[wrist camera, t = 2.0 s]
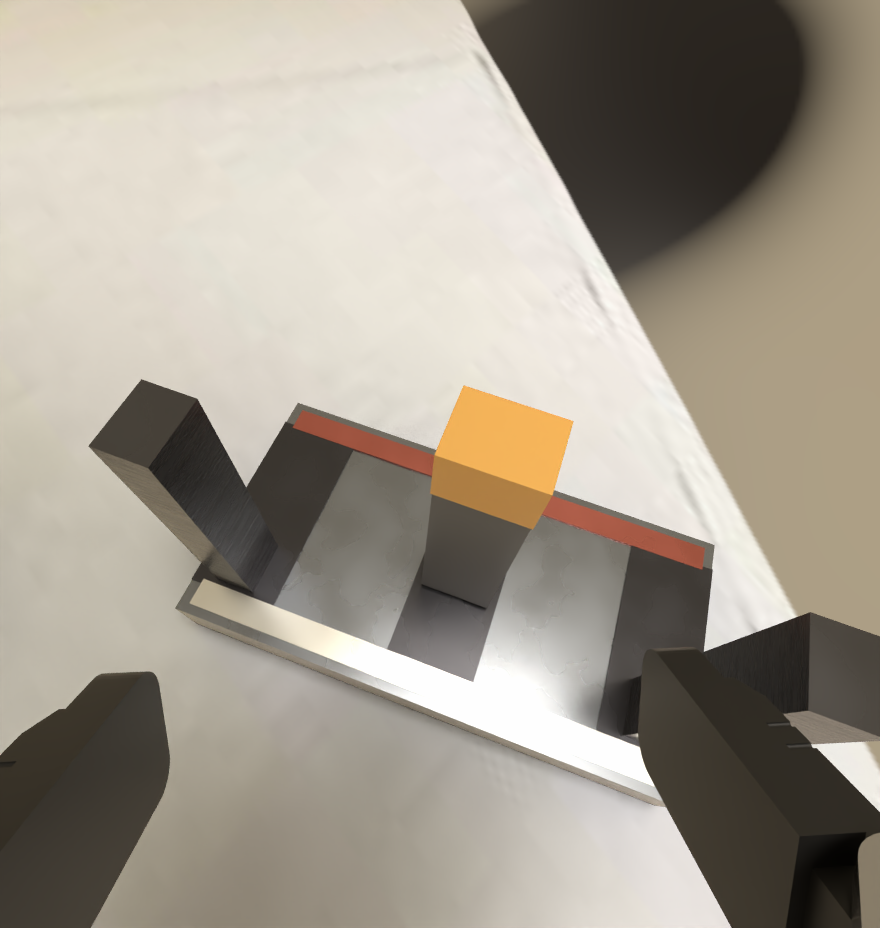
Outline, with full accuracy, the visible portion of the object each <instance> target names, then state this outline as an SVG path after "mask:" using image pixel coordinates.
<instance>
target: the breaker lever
mask: <svg viewBox="0 0 880 928" xmlns="http://www.w3.org/2000/svg"><path fill="white" fill-rule="evenodd" d="M572 425H573V421H571V420H568V419H565V418H562V417H559V416H556V415H553V414H550V413H547V412H544V411H541V410H537V409H534V408H531V407H528V406H525V405H522V404H519V403H516V402H513V401H510V400H507V399H504V398H501V397H498V396H495V395H491V394H488V393H485V392H482V391H479V390H476V389H473V388H470V387H467V386H463V388H462V390H461V393H460V395H459V398H458V400H457V402H456V405H455V407H454V409H453V412H452V414H451V417H450V419H449V421H448V424H447V426H446V429H445V431H444V433H443V436H442V438H441V440H440V443H439V445H438V448H437V450H436V452H435V455H434V463H433V472H432V480H431V489H430V494H432V498H431V506H430V514H429V523H428V531H427V539H426V548H425V556H424V564H423V573H422V581H421V584H423V585H425V586H428V587H431V588H433V589H436V590H439V591H442V592H444V593H447V594H450V595H452V596H455V597H458V598H460V599H463V600H466V601H469V602H471V603H474V604H477V605H479V606H482V607H485V608H487V607H488V606H489V604H490V602H491V600H492V598H493V597H494V595H495V593H496V591H497V589H498V588H499V586H500V584H501V582H502V580H503V579H504V577H505V575H506V573H507V571H508V570H509V568H510V566H511V564H512V562H513V561H514V559H515V557H516V555H517V554H518V552H519V550H520V548H521V546H522V545H523V543H524V541H525V539H526V537H527V536H528V534H529V532H530V530H531V529H532V530H533V529H534V527H535V525H536V524H537V522H538V520H539V518H540V517H541V515H542V513H543V511H544V510H545V508H546V506H547V504H548V502H549V501H550V499H551V497H552V495H553V492H554V488H555V485H556V481H557V478H558V474H559V471H560V467H561V464H562V460H563V456H564V453H565V449H566V446H567V442H568V439H569V435H570V432H571V428H572Z"/></svg>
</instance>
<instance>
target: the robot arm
mask: <svg viewBox="0 0 880 928" xmlns="http://www.w3.org/2000/svg"><path fill="white" fill-rule="evenodd" d="M638 738H639V746H640V751H641V755H642V759H643V762H644V765H645V768H646V770H647V772H648V774H649V776H650V778H651V780H652V782H653V784H654V785H655V787H656V789H657V791H658V793H659V795H660V797H661V798H662V800H663V802H664V804H665V806H666V808H667V809H668V811H669V813H670V815H671V817H672V819H673V820H674V822H675V824H676V826H677V828H678V830H679V832H680V833H681V835H682V837H683V839H684V841H685V843H686V844H687V846H688V848H689V850H690V852H691V854H692V856H693V857H694V859H695V861H696V863H697V865H698V867H699V868H700V870H701V872H702V874H703V876H704V878H705V879H706V881H707V883H708V885H709V887H710V889H711V891H712V892H713V894H714V896H715V898H716V900H717V902H718V903H719V905H720V907H721V909H722V911H723V913H724V915H725V916H726V918H727V920H728V922H729V924H730V926H731V927H732V928H880V812H879V811H878V810H877V809H876V808H875V807H874V806H873V805H872V804H871V803H870V802H869V801H868V800H867V799H866V798H865V797H864V796H863V795H862V794H861V793H860V792H859V791H858V790H857V789H856V788H855V787H854V786H853V785H852V784H851V783H850V782H849V781H848V780H847V778H846V777H845V776H844V775H843V774H842V773H841V772H840V771H839V770H838V769H837V768H836V767H835V766H834V765H833V764H832V763H831V762H830V761H829V760H828V759H827V758H826V757H825V756H824V755H823V754H822V753H821V752H820V751H819V750H818V749H817V748H812V746H811V742H810V741H809V740H808V739H807V738H806V737H805V736H804V735H803V734H802V733H801V732H800V731H799V730H798V729H797V728H796V727H795V726H794V727H792V726H791V724H790V721H789V720H788V719H787V718H786V717H785V716H784V715H783V714H782V713H781V712H780V711H779V710H778V709H777V708H776V707H775V706H774V705H773V704H772V703H771V701H770V700H769V699H768V698H767V697H765V696H764V695H762V694H760V693H759V692H757V691H755V690H754V689H752V688H750V687H749V686H747V685H745V684H744V683H742V682H741V681H739V680H737V679H736V678H734V677H725V678H724V677H723V676H722V675H721V673H720V672H719V671H718V670H717V669H716V668H715V667H714V666H713V665H712V664H711V663H710V661H709V660H708V659H707V658H706V657H705V656H704V655H703V654H702V653H701V652H700V651H699V650H698V649H696V648H694V647H682V648H661V649H648V650H647V651H646V652H645V655H644V658H643V665H642V679H641V694H640V709H639V723H638ZM169 765H170V755H169V747H168V740H167V734H166V727H165V721H164V714H163V708H162V701H161V695H160V688H159V683H158V680H157V677H156V676H155V674H154V673H152V672H128V673H107V674H100V675H98V676H96V677H95V678H94V679H93V680H92V681H91V682H90V683H89V684H88V685H87V687H86V688H85V689H84V690H83V691H82V692H81V693H80V694H79V695H78V696H77V697H76V698H75V699H74V700H73V702H72V703H71V704H70V705H69V706H68V707H67V708H66V709H59V710H57V711H56V712H54V713H53V714H51V715H49V716H48V717H46V718H45V719H43V720H42V721H40V722H39V723H37V724H36V725H34V726H33V727H31V728H30V729H28V730H27V731H25V732H23V733H22V734H21V735H20V736H19V737H18V738H17V739H16V740H15V741H14V742H13V743H12V744H11V745H10V746H9V747H8V748H7V749H6V750H5V751H4V752H3V753H2V754H1V755H0V928H91V926H92V924H93V923H94V921H95V919H96V917H97V915H98V913H99V912H100V910H101V908H102V906H103V904H104V902H105V901H106V899H107V897H108V895H109V893H110V891H111V890H112V888H113V886H114V884H115V882H116V880H117V879H118V877H119V875H120V873H121V871H122V869H123V868H124V866H125V864H126V862H127V860H128V858H129V857H130V855H131V853H132V851H133V849H134V847H135V846H136V844H137V842H138V840H139V838H140V836H141V835H142V833H143V831H144V829H145V827H146V825H147V824H148V822H149V820H150V818H151V816H152V814H153V812H154V811H155V809H156V807H157V805H158V803H159V801H160V799H161V797H162V795H163V793H164V790H165V787H166V783H167V779H168V774H169Z"/></svg>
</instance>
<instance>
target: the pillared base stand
mask: <svg viewBox="0 0 880 928" xmlns="http://www.w3.org/2000/svg"><path fill="white" fill-rule="evenodd" d="M89 447H90V448H91V449H92V451H93V452H94V453H95V454H96V455H97V456H98V457H99V458H100V459H101V460H102V461H103V462H104V463H105V464H106V465H107V466H108V467H109V468H110V469H111V470H112V471H113V472H114V473H115V474H116V475H117V476H118V477H119V478H120V479H121V480H122V481H123V482H124V483H125V484H126V485H127V486H128V487H129V489H130V490H131V491H132V492H133V493H134V494H135V495H136V496H137V497H138V498H139V499H140V500H141V501H142V502H143V503H144V504H145V505H146V506H147V507H148V508H149V509H150V510H151V511H152V512H153V513H154V514H155V515H156V516H157V517H158V518H159V519H160V520H161V521H162V522H163V523H164V524H165V526H166V527H167V528H168V529H169V530H170V531H171V532H172V533H173V534H174V535H175V536H176V537H177V538H178V539H179V540H180V541H181V542H182V543H183V544H184V545H185V546H186V547H187V548H188V549H189V550H190V551H191V552H192V553H193V554H194V555H195V556H196V557H197V558H198V559H199V560H200V561H201V562H202V563H201V564H200V566H199V568H198V569H197V571H196V573H195V574H194V576H193V578H192V581H191V583H190V585H189V586H188V588H187V590H186V591H185V593H184V595H183V596H182V598H181V600H180V601H179V603H178V605H177V606H176V608H175V609H177V610H178V611H180V612H181V613H183V614H184V615H185V616H187V617H188V618H190V619H191V620H193V621H194V622H195V623H197V624H199V625H202V626H204V627H207V628H209V629H212V630H214V631H217V632H219V633H222V634H224V635H227V636H229V637H232V638H234V639H237V640H240V641H242V642H245V643H247V644H250V645H252V646H255V647H257V648H260V649H262V650H265V651H267V652H270V653H272V654H275V655H277V656H280V657H282V658H285V659H287V660H290V661H292V662H295V663H297V664H300V665H302V666H305V667H307V668H310V669H313V670H315V671H318V672H320V673H323V674H325V675H328V676H330V677H333V678H335V679H338V680H340V681H343V682H345V683H348V684H350V685H353V686H355V687H358V688H360V689H363V690H365V691H368V692H370V693H373V694H375V695H378V696H380V697H383V698H386V699H388V700H391V701H393V702H396V703H398V704H401V705H403V706H406V707H408V708H411V709H413V710H416V711H418V712H421V713H423V714H426V715H428V716H431V717H433V718H436V719H438V720H441V721H443V722H446V723H448V724H451V725H453V726H456V727H459V728H461V729H464V730H466V731H469V732H471V733H474V734H476V735H479V736H481V737H484V738H486V739H489V740H491V741H494V742H496V743H499V744H501V745H504V746H506V747H509V748H511V749H514V750H516V751H519V752H521V753H524V754H526V755H529V756H532V757H534V758H537V759H539V760H542V761H544V762H547V763H549V764H552V765H554V766H557V767H559V768H562V769H564V770H567V771H569V772H572V773H574V774H577V775H579V776H582V777H584V778H587V779H589V780H592V781H594V782H597V783H599V784H602V785H604V786H607V787H610V788H612V789H615V790H617V791H620V792H622V793H625V794H627V795H630V796H632V797H635V798H637V799H640V800H642V801H645V802H647V803H650V804H652V805H656V806H662V807H666V806H665V804H664V802H663V800H662V798H661V797H660V795H659V793H658V791H657V789H656V787H655V785H654V784H653V782H652V780H651V778H650V776H649V774H648V772H647V770H646V768H645V765H644V762H643V759H642V755H641V751H640V746H639V738H638V723H639V709H640V694H641V679H642V665H643V658H644V655H645V652H646V651H647V650H648V649H661V648H682V647H694V648H696V649H698V650H699V651H700V652H701V653H702V654H703V655H704V656H705V657H706V658H707V659H708V660H709V661H710V663H711V664H712V665H713V666H714V667H715V668H716V669H717V670H718V671H719V672H720V673H721V675H722V676H723V677H724V678H725V677H734V678H736V679H737V680H739V681H741V682H742V683H744V684H745V685H747V686H749V687H750V688H752V689H754V690H755V691H757V692H759V693H760V694H762V695H764V696H765V697H767V698H768V699H769V700H770V701H771V703H772V704H773V705H774V706H775V707H776V708H777V709H778V710H779V711H780V712H781V713H782V714H783V715H784V716H785V717H786V718H787V719H788V720H789V721H790V724H791V726H792V727H794V726H795V727H796V728H797V729H798V730H799V731H800V732H801V733H802V734H803V735H804V736H805V737H806V738H807V739H808V740H809V741H810V742H811V744H826V743H845V742H865V741H880V636H877V635H874V634H871V633H868V632H865V631H863V630H860V629H857V628H854V627H851V626H848V625H845V624H842V623H840V622H837V621H834V620H831V619H828V618H825V617H822V616H819V615H817V614H814V613H811V612H810V613H807V614H804V615H802V616H799V617H796V618H794V619H791V620H788V621H786V622H783V623H780V624H778V625H775V626H772V627H770V628H767V629H764V630H761V631H759V632H756V633H753V634H751V635H748V636H745V637H743V638H740V639H737V640H735V641H732V642H729V643H727V644H724V645H721V646H719V647H716V648H713V649H711V650H708V651H705V652H704V643H705V634H706V625H707V616H708V607H709V598H710V589H711V580H712V571H713V570H712V563H713V554H714V545H713V544H710V543H707V542H704V541H701V540H698V539H695V538H692V537H689V536H686V535H683V534H680V533H677V532H675V531H672V530H669V529H666V528H663V527H660V526H657V525H654V524H651V523H648V522H645V521H642V520H639V519H636V518H634V517H631V516H628V515H625V514H622V513H619V512H616V511H613V510H610V509H607V508H604V507H601V506H598V505H595V504H593V503H590V502H587V501H584V500H581V499H578V498H575V497H572V496H569V495H566V494H563V493H560V492H557V491H554V492H553V495H552V497H551V499H550V501H549V502H548V504H547V506H546V508H545V510H544V511H543V513H542V515H541V517H540V518H539V520H538V522H537V524H536V525H535V527H534V529H533V530H532V529H531V530H530V532H529V534H528V536H527V537H526V539H525V541H524V543H523V545H522V546H521V548H520V550H519V552H518V554H517V555H516V557H515V559H514V561H513V562H512V564H511V566H510V568H509V570H508V571H507V573H506V575H505V577H504V579H503V580H502V582H501V584H500V586H499V588H498V589H497V591H496V593H495V595H494V597H493V598H492V600H491V602H490V604H489V606H488V607H487V608H485V607H482V606H479V605H477V604H474V603H471V602H469V601H466V600H463V599H460V598H458V597H455V596H452V595H450V594H447V593H444V592H442V591H439V590H436V589H433V588H431V587H428V586H425V585H423V584H421V581H422V573H423V564H424V556H425V548H426V539H427V531H428V523H429V514H430V506H431V498H432V494H430V489H431V480H432V472H433V463H434V455H435V452H436V450H434V449H431V448H428V447H426V446H423V445H420V444H417V443H414V442H411V441H408V440H405V439H402V438H399V437H396V436H393V435H390V434H387V433H385V432H382V431H379V430H376V429H373V428H370V427H367V426H364V425H361V424H358V423H355V422H352V421H349V420H346V419H344V418H341V417H338V416H335V415H332V414H329V413H326V412H323V411H320V410H317V409H314V408H311V407H308V406H305V405H303V404H300V403H298V404H297V405H296V407H295V409H294V410H293V412H292V414H291V415H290V417H289V419H288V421H287V422H285V424H284V426H283V427H282V429H281V431H280V432H279V434H278V436H277V437H276V439H275V441H274V442H273V444H272V446H271V447H270V449H269V451H268V452H267V454H266V456H265V457H264V459H263V461H262V462H261V464H260V466H259V467H258V469H257V471H256V472H255V474H254V476H253V477H252V479H251V481H250V482H249V484H248V486H247V487H246V486H245V485H244V483H243V481H242V479H241V477H240V476H239V474H238V472H237V470H236V468H235V466H234V465H233V463H232V461H231V459H230V457H229V456H228V454H227V452H226V450H225V448H224V446H223V445H222V443H221V441H220V439H219V437H218V436H217V434H216V432H215V430H214V428H213V427H212V425H211V423H210V421H209V419H208V417H207V416H206V414H205V412H204V410H203V408H202V407H201V405H200V403H199V401H198V399H196V398H193V397H190V396H187V395H185V394H182V393H179V392H176V391H173V390H170V389H167V388H164V387H162V386H159V385H156V384H153V383H150V382H147V381H144V380H142V379H141V381H140V382H139V383H138V384H137V386H136V387H135V388H134V389H133V391H132V392H131V393H130V395H129V396H128V397H127V398H126V400H125V401H124V402H123V403H122V405H121V406H120V407H119V408H118V410H117V411H116V412H115V413H114V415H113V416H112V417H111V418H110V420H109V421H108V422H107V423H106V425H105V426H104V427H103V429H102V430H101V431H100V432H99V434H98V435H97V436H96V437H95V439H94V440H93V441H92V442H91V444H90V445H89Z"/></svg>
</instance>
